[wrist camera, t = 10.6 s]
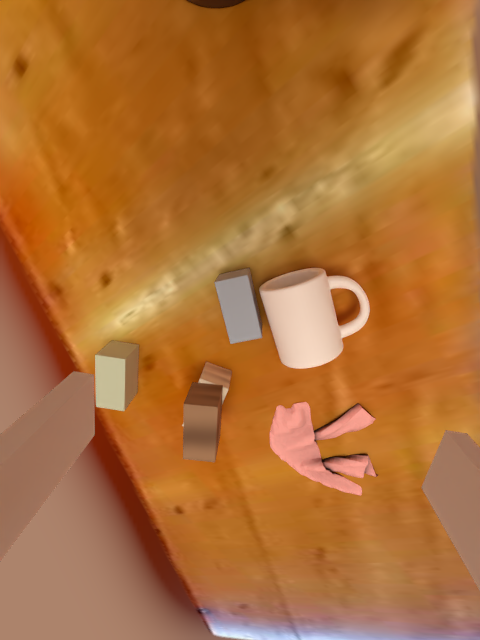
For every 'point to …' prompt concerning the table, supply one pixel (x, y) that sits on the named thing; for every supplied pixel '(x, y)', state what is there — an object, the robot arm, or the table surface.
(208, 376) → the birch brick
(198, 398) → the walnut brick
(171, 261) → the table surface
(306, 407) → the cloth
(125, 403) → the sage brick
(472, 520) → the robot arm
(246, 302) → the slate brick
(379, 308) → the table surface
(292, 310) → the mug
